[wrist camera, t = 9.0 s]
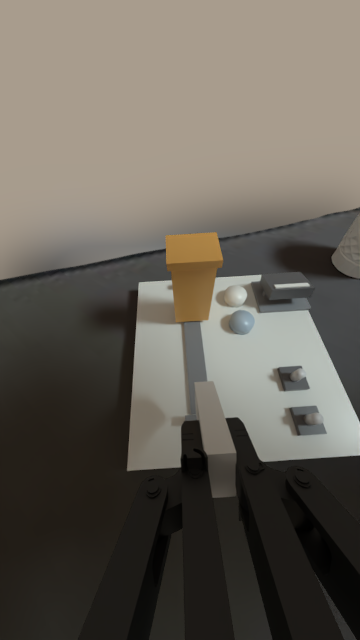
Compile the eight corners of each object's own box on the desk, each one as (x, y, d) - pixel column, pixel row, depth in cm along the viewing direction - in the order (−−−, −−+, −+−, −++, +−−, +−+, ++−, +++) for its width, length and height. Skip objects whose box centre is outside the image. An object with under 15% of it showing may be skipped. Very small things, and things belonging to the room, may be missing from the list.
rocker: (296, 280, 28) (300, 270, 27) (310, 297, 25) (315, 286, 24) (259, 283, 28) (262, 273, 26) (269, 299, 25) (272, 289, 24)
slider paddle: (207, 298, 27) (216, 232, 19) (211, 322, 25) (223, 260, 17) (172, 300, 27) (165, 235, 19) (173, 324, 25) (166, 263, 17)
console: (286, 282, 31) (299, 261, 28) (360, 453, 20) (398, 455, 16) (141, 291, 31) (135, 271, 28) (132, 468, 20) (120, 473, 16)
